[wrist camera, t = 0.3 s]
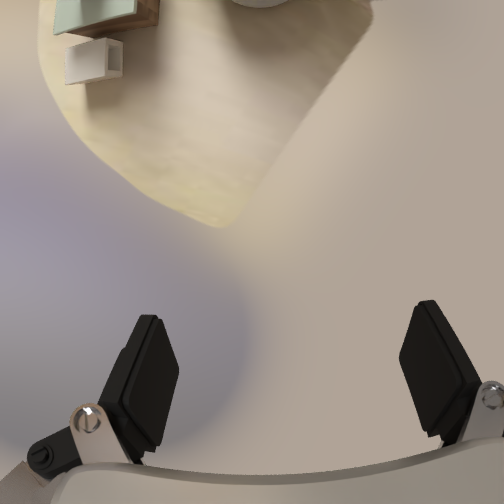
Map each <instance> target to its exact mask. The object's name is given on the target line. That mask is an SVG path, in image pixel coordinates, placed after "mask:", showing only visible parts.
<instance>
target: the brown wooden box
mask: <svg viewBox="0 0 504 504" xmlns="http://www.w3.org/2000/svg"><path fill="white" fill-rule="evenodd" d="M159 2H160V0H137V11H136V14H131V15H127V16H122V17H118V18H113V19H109V20H105V21H101V22H98V23H94V24H91V25H87V26H84V27H81V28H77V29H74V30H71V31H68V32H65V33H71V34H76V35H81V36H86V37H90V38H95V37H99V36H103V35H107V34H112V33H116V32H121V31H126V30H131V29H136V28H142V27H148V26H154V25H158V15H159Z"/></svg>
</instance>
